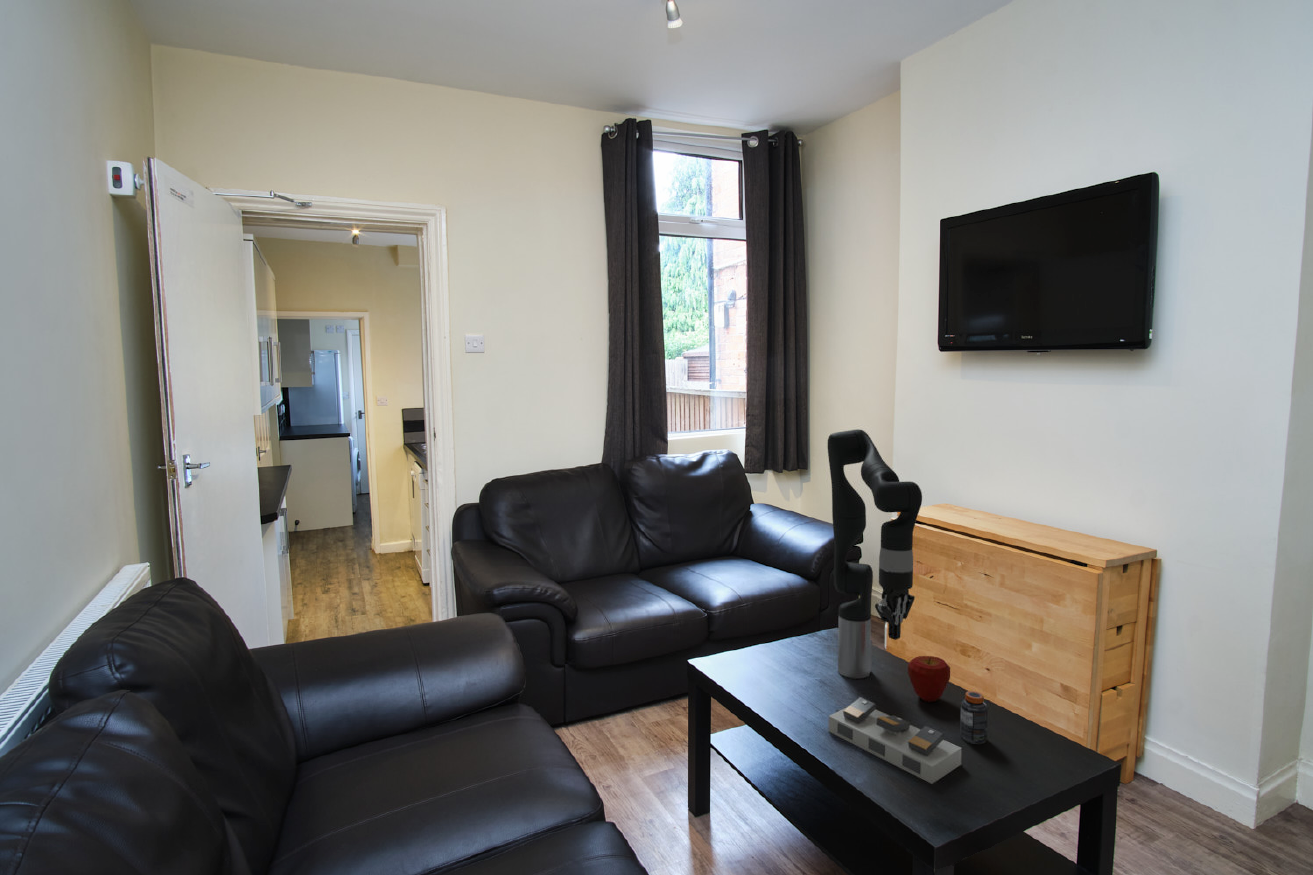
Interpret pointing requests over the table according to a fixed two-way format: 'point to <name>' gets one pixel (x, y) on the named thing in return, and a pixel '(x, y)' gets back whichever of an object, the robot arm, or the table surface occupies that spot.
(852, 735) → the power strip
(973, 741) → the pill bottle
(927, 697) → the apple
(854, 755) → the table surface
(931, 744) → the rocker
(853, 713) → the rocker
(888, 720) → the block
